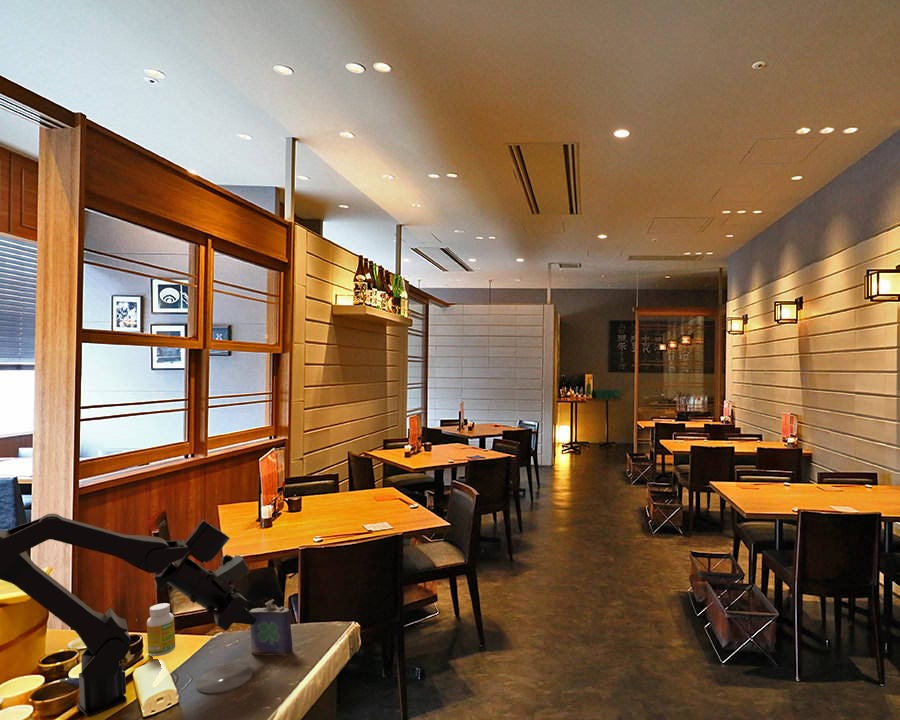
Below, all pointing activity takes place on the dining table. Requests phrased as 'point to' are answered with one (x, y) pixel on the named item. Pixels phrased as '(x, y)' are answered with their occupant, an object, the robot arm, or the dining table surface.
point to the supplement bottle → (160, 630)
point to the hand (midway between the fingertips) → (254, 622)
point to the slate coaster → (224, 679)
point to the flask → (271, 631)
